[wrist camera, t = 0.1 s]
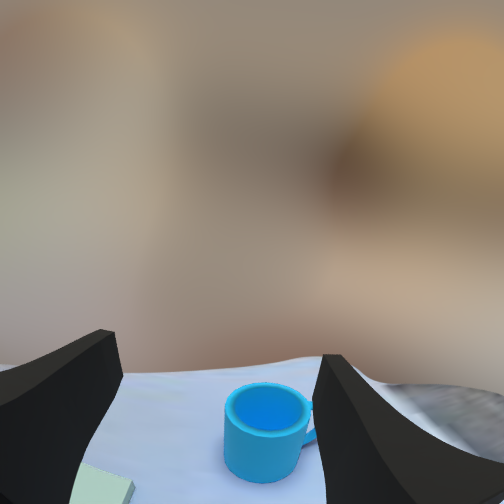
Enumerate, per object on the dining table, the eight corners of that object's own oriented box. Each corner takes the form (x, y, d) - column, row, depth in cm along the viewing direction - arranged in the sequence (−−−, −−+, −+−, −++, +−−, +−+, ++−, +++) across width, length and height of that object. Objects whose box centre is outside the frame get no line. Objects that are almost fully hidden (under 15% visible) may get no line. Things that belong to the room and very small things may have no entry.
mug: (236, 490, 22) (239, 445, 20) (216, 437, 29) (215, 388, 27) (339, 461, 25) (359, 413, 24) (307, 419, 33) (319, 370, 31)
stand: (106, 560, 10) (100, 556, 10) (17, 513, 10) (10, 506, 10) (135, 487, 20) (131, 480, 19) (55, 456, 20) (50, 448, 20)
